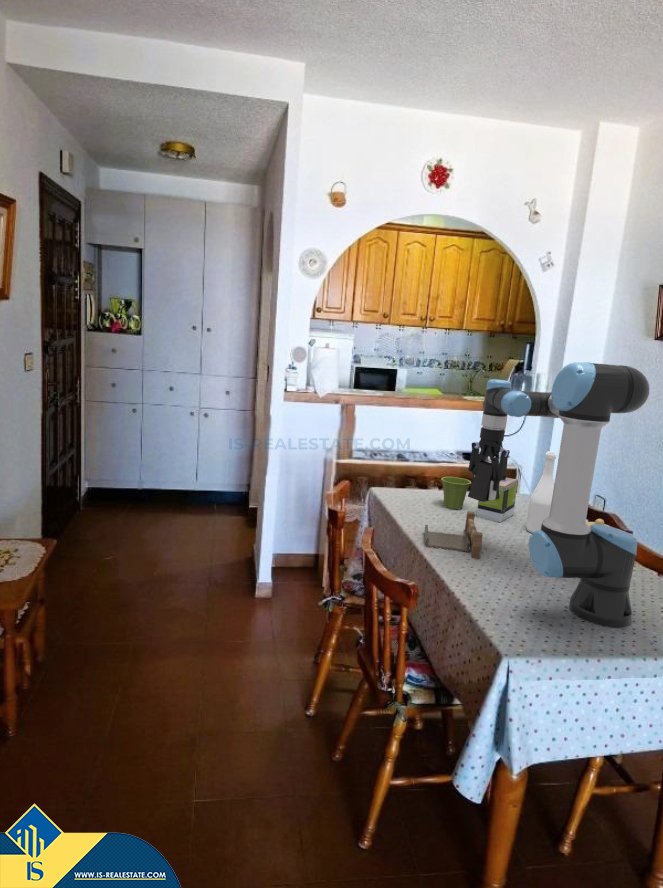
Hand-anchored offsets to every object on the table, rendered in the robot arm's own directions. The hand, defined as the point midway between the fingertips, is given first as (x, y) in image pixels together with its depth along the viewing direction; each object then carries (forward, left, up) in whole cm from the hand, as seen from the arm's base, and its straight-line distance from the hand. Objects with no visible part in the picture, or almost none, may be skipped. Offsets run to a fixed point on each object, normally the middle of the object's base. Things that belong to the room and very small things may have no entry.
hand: (483, 496), depth 202 cm
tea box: (+38, -11, -17) cm, 43 cm away
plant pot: (+44, +5, -17) cm, 47 cm away
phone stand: (0, 0, -1) cm, 1 cm away
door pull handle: (0, +2, -17) cm, 17 cm away
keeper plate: (0, +10, -17) cm, 20 cm away
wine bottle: (+24, -25, -17) cm, 39 cm away
